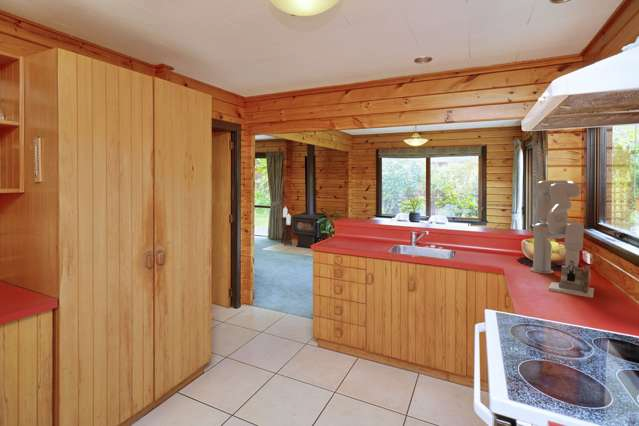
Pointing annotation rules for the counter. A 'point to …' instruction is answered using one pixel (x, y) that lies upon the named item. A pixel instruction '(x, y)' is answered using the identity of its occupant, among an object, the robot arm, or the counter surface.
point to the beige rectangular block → (577, 275)
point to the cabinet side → (585, 279)
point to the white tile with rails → (571, 289)
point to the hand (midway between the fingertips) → (571, 279)
